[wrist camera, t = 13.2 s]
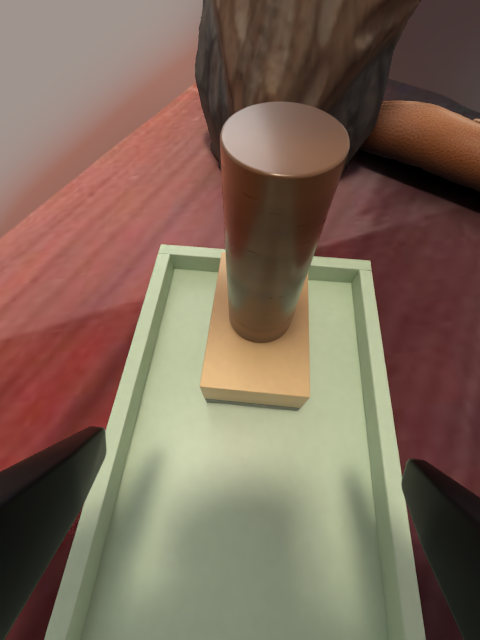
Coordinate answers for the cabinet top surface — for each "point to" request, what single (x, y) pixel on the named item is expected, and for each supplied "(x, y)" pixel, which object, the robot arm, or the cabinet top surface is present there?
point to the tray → (245, 485)
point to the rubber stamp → (269, 251)
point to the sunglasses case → (428, 140)
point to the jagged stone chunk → (298, 58)
